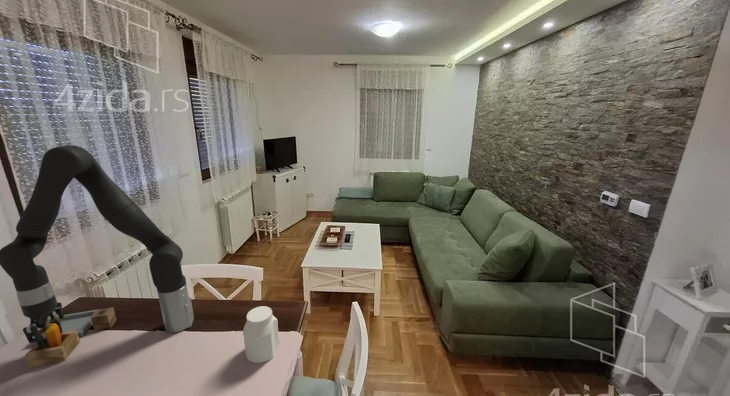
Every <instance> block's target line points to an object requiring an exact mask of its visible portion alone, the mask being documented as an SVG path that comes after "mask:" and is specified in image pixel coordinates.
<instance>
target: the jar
mask: <svg viewBox="0 0 730 396" xmlns="http://www.w3.org/2000/svg"><path fill="white" fill-rule="evenodd" d="M278 322H279V320H278V319H277V317H275V316H274V314H273V310H272V308H271V307H270V306H265V305H263V306H261V305H260V306H257V307H254V308H252V309H251V310H249V311H248V312H247V314H246V322H245V324H244V327H243V330H242V336H243V341H244V349H245V350H244V351H245V358H246V359H247V360H248V361H249V362H250V363H254V364H262V363H266V362H269V361H270V360H272V359H273V358H274V357H275V351H276V350H277V348H278V347H279V345H280V335H279V327H278V325H279V324H278Z"/></svg>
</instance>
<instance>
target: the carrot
mask: <svg viewBox="0 0 730 396" xmlns="http://www.w3.org/2000/svg"><path fill="white" fill-rule="evenodd" d="M50 320H51V318H50ZM49 323H50V321H49ZM40 329H44V327H42V328H38V330H40ZM39 333H40V335H41V336H42V332H39ZM46 337H47V339H48V342H49V345H50V346H49V347H48V348H53V347H58V346H59V345H60V344H61V333H60V330H59V327H58V325H57V324H56V323H53V324H49V329H48V331H47V332H46ZM48 348H46V349H48Z"/></svg>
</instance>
